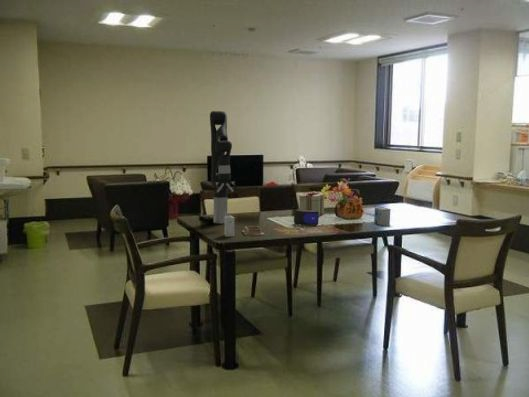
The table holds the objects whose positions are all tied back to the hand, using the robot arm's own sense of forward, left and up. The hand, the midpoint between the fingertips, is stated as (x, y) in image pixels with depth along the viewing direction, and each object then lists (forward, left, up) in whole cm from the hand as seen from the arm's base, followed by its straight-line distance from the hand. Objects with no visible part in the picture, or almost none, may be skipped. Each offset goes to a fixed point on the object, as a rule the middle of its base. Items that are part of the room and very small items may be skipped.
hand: (225, 197), depth 338 cm
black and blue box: (0, +54, -19) cm, 57 cm away
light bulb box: (+5, +106, -19) cm, 108 cm away
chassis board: (+25, +13, -19) cm, 34 cm away
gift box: (-39, +69, -19) cm, 81 cm away
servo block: (+29, -2, -19) cm, 35 cm away
